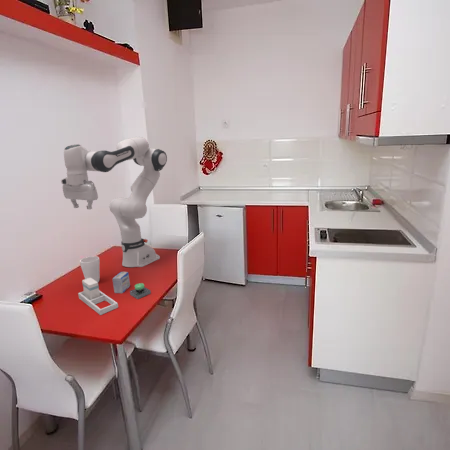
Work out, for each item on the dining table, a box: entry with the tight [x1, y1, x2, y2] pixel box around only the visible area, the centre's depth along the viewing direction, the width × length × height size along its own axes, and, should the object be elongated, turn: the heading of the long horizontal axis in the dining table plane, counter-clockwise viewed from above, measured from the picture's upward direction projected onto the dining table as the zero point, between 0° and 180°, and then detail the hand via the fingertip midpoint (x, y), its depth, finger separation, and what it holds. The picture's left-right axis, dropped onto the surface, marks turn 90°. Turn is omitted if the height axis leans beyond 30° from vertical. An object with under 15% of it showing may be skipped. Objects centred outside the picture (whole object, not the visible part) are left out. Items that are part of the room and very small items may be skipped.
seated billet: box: [81, 278, 100, 300], centre depth 150 cm, size 4×8×9 cm, turn 45°
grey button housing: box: [129, 286, 152, 300], centre depth 153 cm, size 7×7×3 cm
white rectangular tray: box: [77, 289, 119, 316], centre depth 147 cm, size 8×23×3 cm, turn 45°
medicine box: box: [112, 271, 131, 294], centre depth 158 cm, size 8×4×9 cm, turn 168°
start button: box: [134, 282, 145, 293], centre depth 152 cm, size 4×4×4 cm
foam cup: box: [79, 255, 101, 283], centre depth 168 cm, size 10×9×13 cm
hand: (82, 208), depth 157 cm, fingers open, 8 cm apart
